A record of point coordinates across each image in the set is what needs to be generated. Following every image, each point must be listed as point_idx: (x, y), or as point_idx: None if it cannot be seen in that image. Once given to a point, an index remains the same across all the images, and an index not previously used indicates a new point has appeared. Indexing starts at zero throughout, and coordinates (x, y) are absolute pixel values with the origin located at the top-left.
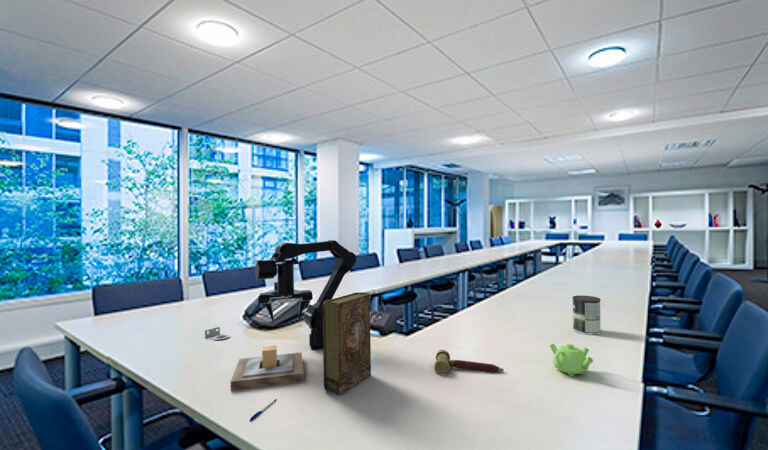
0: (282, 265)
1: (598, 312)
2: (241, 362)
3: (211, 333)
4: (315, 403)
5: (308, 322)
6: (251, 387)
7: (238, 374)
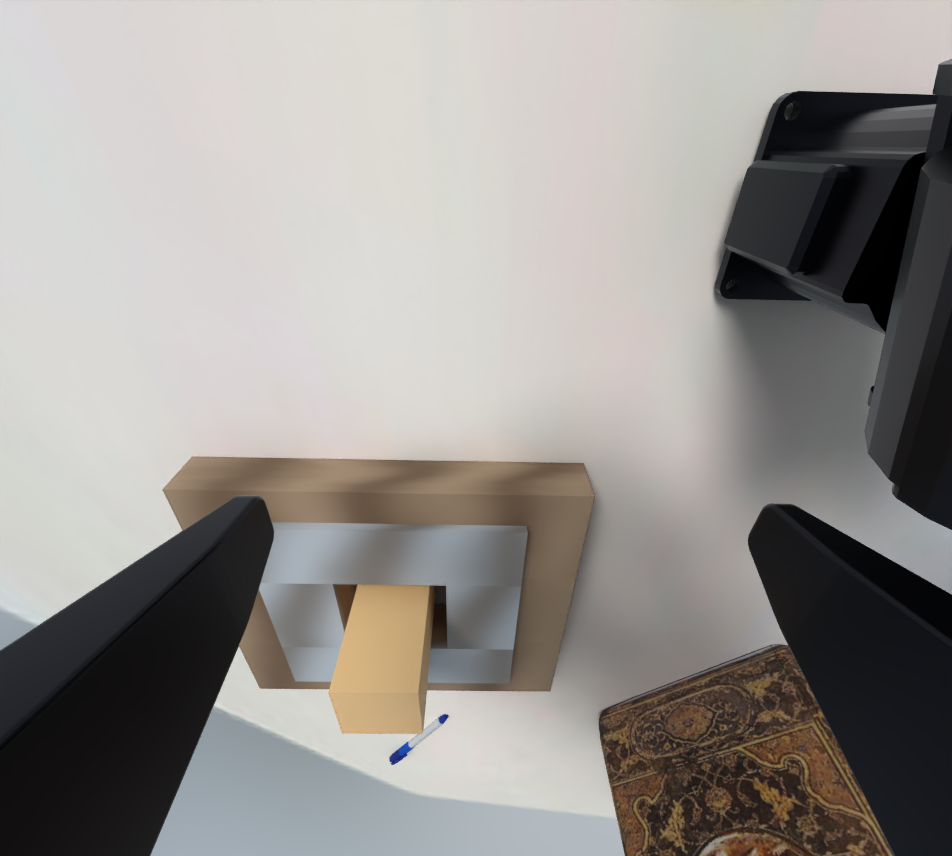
0: None
1: None
2: None
3: None
4: (555, 740)
5: (898, 421)
6: None
7: (264, 651)
